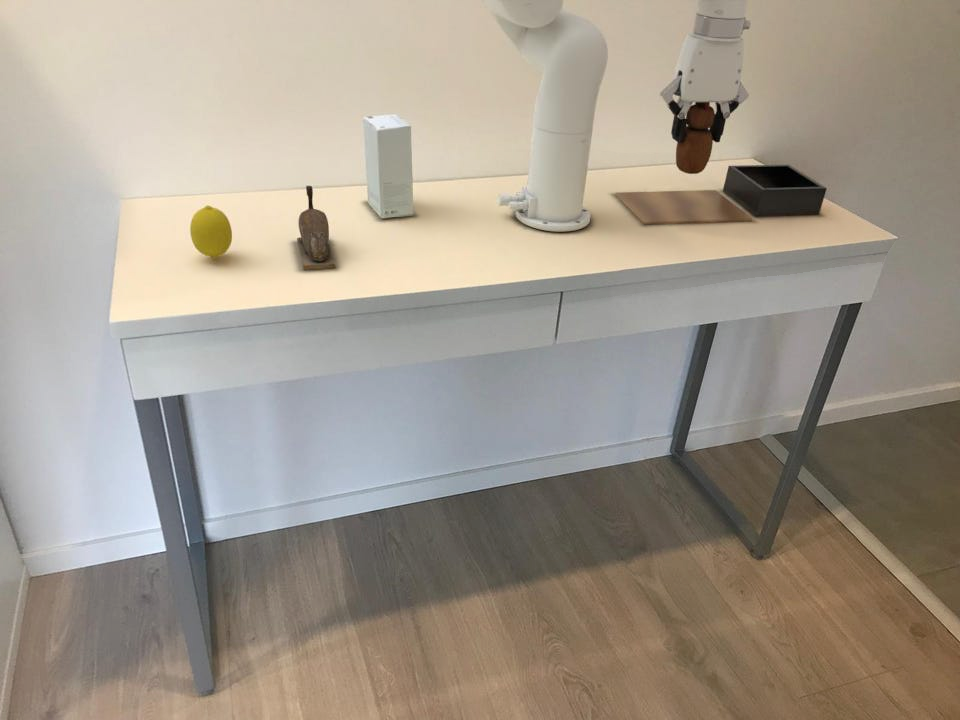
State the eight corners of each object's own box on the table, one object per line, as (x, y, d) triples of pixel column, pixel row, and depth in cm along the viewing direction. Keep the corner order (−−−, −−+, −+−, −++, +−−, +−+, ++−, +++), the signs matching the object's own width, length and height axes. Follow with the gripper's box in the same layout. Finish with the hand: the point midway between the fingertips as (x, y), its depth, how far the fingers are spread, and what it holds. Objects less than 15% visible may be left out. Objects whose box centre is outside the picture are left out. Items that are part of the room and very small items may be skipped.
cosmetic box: (414, 216, 132) (415, 126, 124) (378, 220, 129) (377, 129, 122) (398, 198, 138) (398, 112, 130) (364, 201, 136) (362, 114, 128)
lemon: (197, 269, 111) (189, 215, 107) (192, 253, 115) (184, 200, 111) (237, 264, 113) (231, 211, 109) (231, 248, 117) (225, 197, 113)
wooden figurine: (671, 163, 142) (687, 76, 134) (704, 166, 141) (722, 79, 133) (674, 175, 136) (690, 85, 128) (708, 178, 135) (727, 88, 127)
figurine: (294, 231, 124) (290, 177, 119) (323, 229, 125) (320, 176, 120) (303, 270, 113) (299, 212, 108) (335, 268, 114) (333, 211, 109)
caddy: (755, 216, 140) (762, 189, 137) (722, 191, 150) (728, 165, 148) (818, 214, 143) (827, 188, 140) (782, 189, 153) (789, 164, 150)
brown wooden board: (644, 224, 134) (644, 222, 134) (615, 194, 146) (615, 192, 145) (751, 221, 138) (752, 218, 138) (715, 192, 150) (715, 190, 150)
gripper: (755, 24, 131) (731, 133, 140) (657, 22, 127) (640, 134, 137) (779, 33, 125) (752, 146, 134) (677, 31, 121) (657, 148, 131)
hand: (695, 139), depth 135 cm, fingers closed on wooden figurine, 6 cm apart
